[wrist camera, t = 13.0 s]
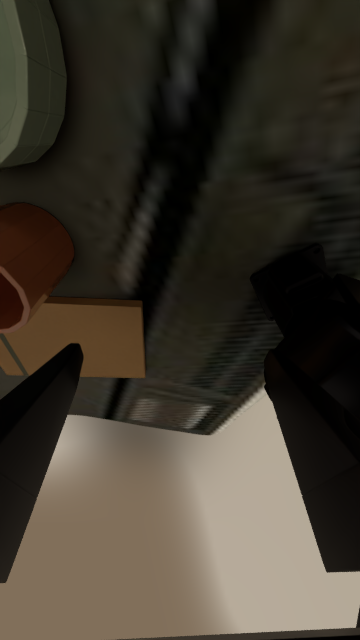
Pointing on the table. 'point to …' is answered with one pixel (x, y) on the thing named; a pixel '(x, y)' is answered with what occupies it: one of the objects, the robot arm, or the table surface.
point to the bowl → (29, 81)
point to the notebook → (80, 337)
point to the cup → (29, 261)
